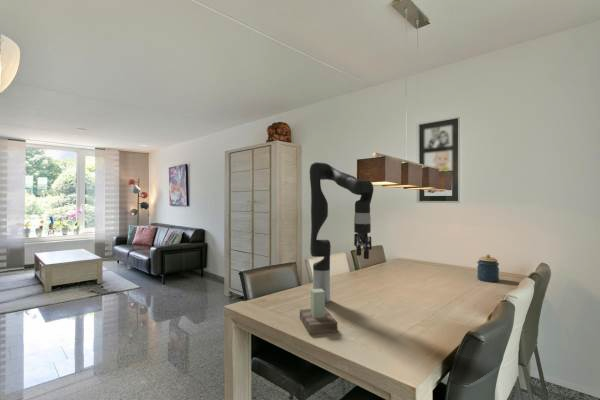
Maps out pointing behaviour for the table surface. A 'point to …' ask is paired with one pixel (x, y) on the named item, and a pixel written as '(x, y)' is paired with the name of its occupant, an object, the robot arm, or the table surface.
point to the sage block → (317, 303)
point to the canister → (488, 269)
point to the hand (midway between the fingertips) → (362, 257)
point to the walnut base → (318, 322)
